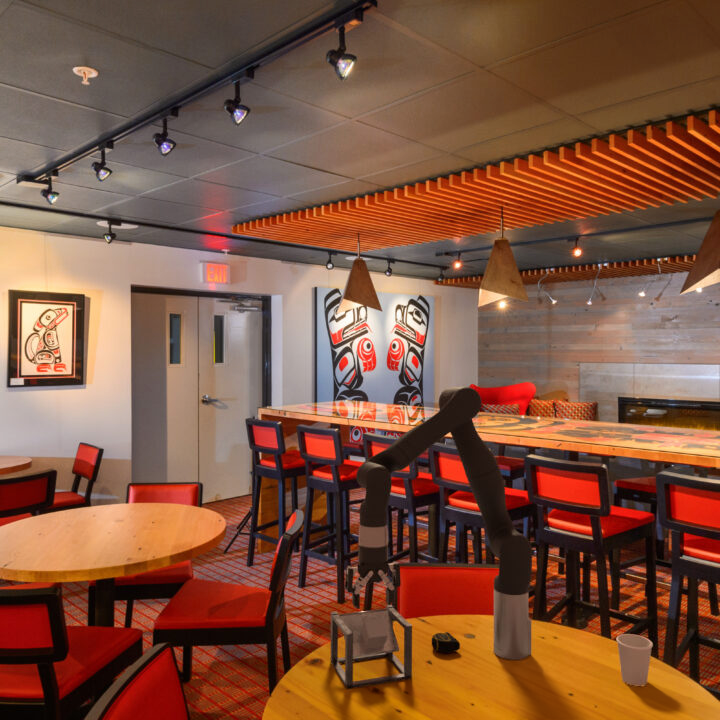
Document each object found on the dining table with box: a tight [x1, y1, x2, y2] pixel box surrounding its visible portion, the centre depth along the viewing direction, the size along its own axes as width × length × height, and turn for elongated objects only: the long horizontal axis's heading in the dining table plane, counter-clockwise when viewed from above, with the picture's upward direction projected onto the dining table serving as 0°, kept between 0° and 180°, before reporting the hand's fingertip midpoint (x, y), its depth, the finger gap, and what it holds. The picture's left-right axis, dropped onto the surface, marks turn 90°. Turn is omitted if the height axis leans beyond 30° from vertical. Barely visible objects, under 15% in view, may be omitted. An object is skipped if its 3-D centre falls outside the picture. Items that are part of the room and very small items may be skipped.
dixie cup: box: [616, 633, 654, 687], centre depth 157 cm, size 8×8×10 cm
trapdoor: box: [338, 608, 400, 658], centre depth 163 cm, size 13×12×1 cm
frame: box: [330, 604, 413, 690], centre depth 162 cm, size 17×14×13 cm
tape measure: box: [431, 631, 461, 654], centre depth 174 cm, size 7×7×4 cm
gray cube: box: [361, 618, 388, 649], centre depth 160 cm, size 5×5×5 cm
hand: (372, 605), depth 160 cm, fingers open, 8 cm apart
